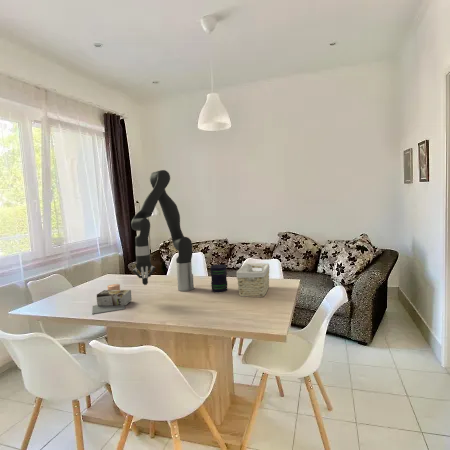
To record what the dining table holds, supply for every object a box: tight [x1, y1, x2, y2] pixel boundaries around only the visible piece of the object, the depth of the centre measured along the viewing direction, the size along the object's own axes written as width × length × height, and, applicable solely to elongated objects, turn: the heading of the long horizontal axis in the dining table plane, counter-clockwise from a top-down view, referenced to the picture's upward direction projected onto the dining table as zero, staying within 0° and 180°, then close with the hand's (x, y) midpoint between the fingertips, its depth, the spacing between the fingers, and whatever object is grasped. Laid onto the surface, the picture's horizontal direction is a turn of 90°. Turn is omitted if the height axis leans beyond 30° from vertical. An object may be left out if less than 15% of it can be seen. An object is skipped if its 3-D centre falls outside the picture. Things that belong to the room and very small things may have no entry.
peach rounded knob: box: [106, 283, 121, 290], centre depth 195 cm, size 7×7×7 cm
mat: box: [91, 304, 126, 315], centre depth 175 cm, size 16×14×1 cm
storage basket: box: [236, 262, 270, 298], centre depth 192 cm, size 24×16×15 cm
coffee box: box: [96, 289, 133, 306], centre depth 181 cm, size 9×6×16 cm
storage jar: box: [210, 264, 228, 293], centre depth 199 cm, size 10×10×15 cm
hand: (145, 284), depth 182 cm, fingers closed
